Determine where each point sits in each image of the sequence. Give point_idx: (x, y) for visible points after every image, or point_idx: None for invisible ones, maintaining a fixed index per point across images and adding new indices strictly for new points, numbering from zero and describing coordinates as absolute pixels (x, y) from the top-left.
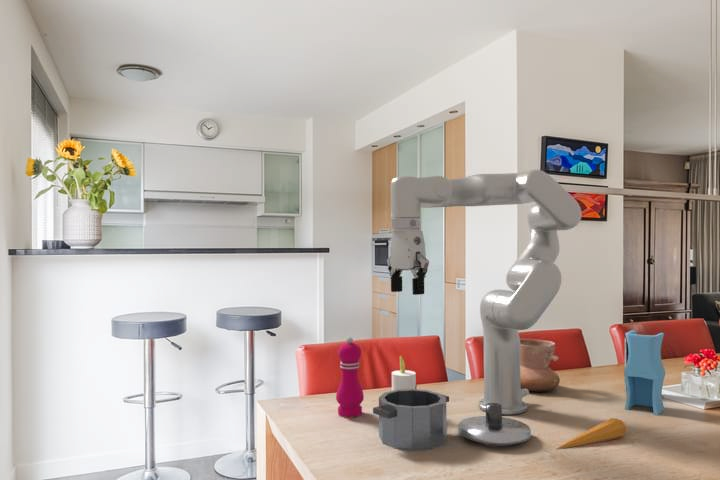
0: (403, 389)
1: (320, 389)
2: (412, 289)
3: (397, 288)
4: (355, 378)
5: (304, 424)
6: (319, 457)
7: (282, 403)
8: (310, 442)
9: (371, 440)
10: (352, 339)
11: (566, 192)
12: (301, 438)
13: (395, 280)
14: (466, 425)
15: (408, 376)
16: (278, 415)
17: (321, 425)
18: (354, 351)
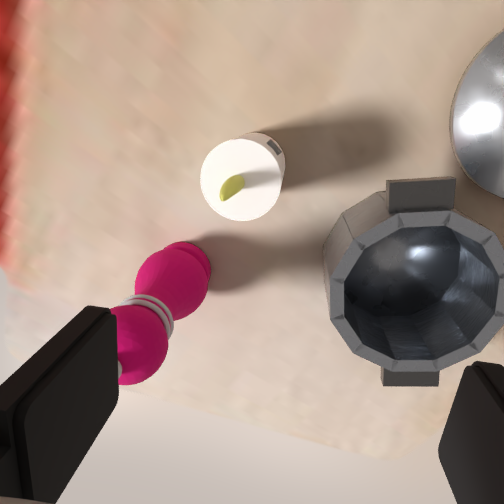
0: (340, 261)
1: None
2: (452, 490)
3: (105, 375)
4: (177, 303)
5: (192, 369)
6: (350, 430)
7: (43, 335)
8: (283, 408)
9: None
10: None
11: None
12: (256, 408)
13: (61, 462)
14: (488, 160)
15: (279, 192)
16: None
17: (216, 350)
18: (160, 357)
